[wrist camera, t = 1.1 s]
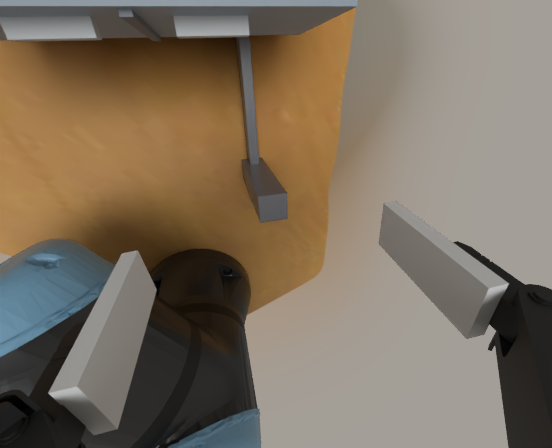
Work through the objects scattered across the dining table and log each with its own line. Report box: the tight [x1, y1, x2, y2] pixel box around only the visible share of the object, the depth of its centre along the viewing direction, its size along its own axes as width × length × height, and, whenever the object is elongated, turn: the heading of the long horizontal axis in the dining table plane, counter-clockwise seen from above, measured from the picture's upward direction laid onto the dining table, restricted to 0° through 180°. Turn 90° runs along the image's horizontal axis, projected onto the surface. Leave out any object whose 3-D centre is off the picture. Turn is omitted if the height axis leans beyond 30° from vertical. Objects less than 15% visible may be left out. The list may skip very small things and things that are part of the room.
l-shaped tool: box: [236, 35, 288, 223], centre depth 24 cm, size 18×2×12 cm, turn 3°
